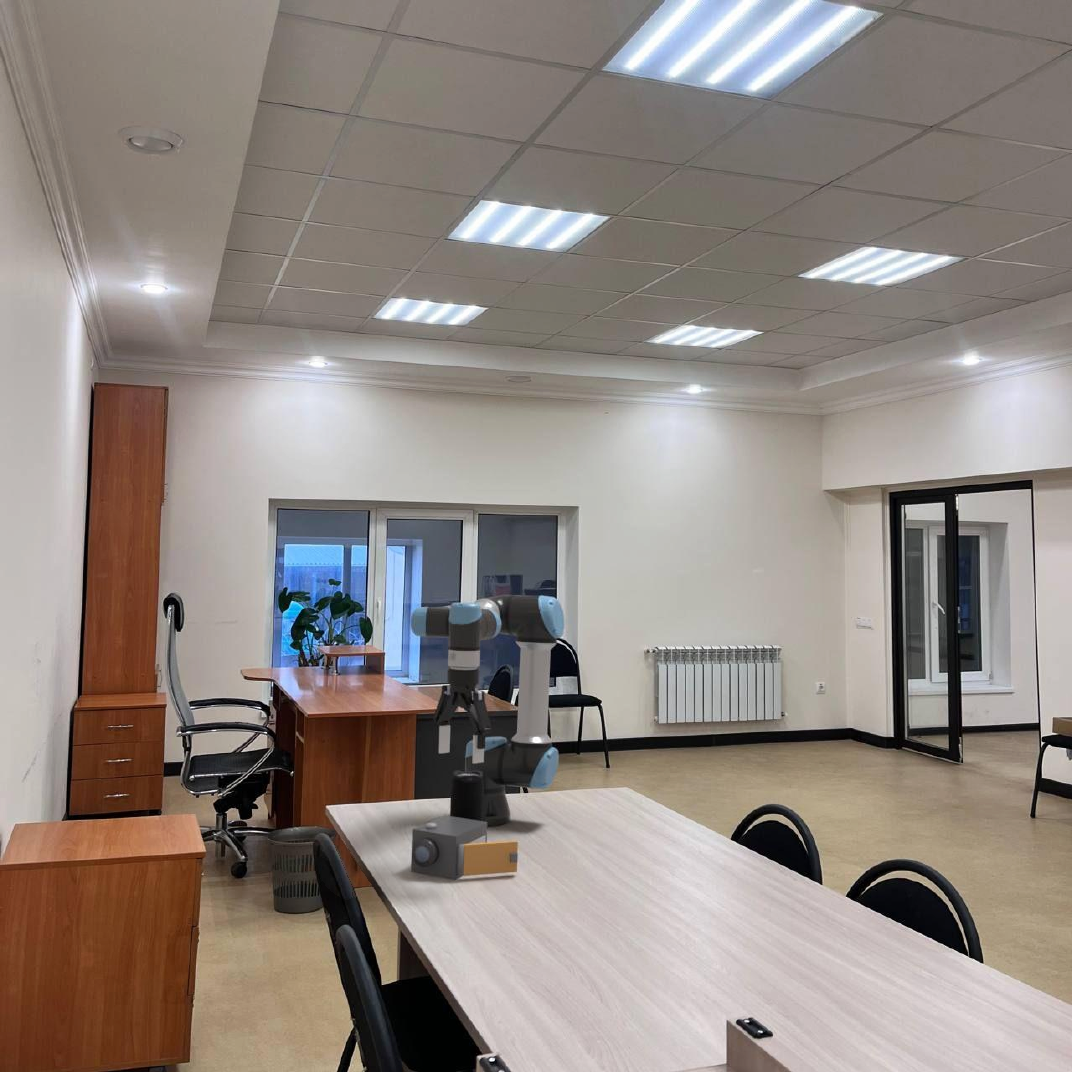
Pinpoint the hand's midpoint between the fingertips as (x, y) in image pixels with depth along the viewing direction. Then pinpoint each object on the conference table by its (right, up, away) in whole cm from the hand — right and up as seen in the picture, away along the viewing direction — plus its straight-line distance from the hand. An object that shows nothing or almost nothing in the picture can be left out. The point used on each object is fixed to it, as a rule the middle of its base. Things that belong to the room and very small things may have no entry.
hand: (460, 757), depth 230 cm
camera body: (-4, -27, +2) cm, 27 cm away
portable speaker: (0, -28, +19) cm, 34 cm away
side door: (+7, -26, -4) cm, 27 cm away
